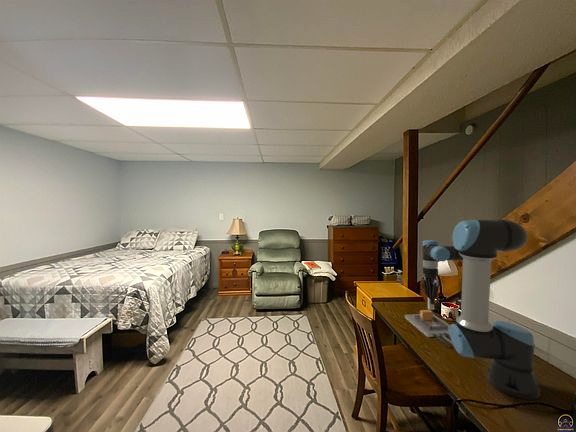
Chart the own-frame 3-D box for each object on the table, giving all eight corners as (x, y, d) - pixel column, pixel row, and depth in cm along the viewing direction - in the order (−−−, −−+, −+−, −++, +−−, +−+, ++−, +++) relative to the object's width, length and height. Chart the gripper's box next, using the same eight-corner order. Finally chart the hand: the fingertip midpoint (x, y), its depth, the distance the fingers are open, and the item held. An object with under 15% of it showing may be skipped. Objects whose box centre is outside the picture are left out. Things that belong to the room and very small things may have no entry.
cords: (464, 347, 122) (464, 345, 122) (448, 348, 122) (448, 346, 122) (448, 336, 133) (448, 334, 133) (434, 336, 133) (434, 334, 133)
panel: (460, 335, 134) (460, 329, 133) (427, 337, 133) (427, 330, 133) (432, 316, 158) (432, 311, 157) (404, 317, 157) (404, 312, 157)
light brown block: (432, 320, 148) (432, 311, 148) (422, 320, 148) (422, 312, 147) (429, 318, 151) (429, 309, 151) (419, 318, 151) (419, 310, 150)
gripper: (444, 269, 134) (445, 313, 134) (430, 265, 147) (430, 305, 147) (430, 270, 134) (431, 313, 134) (417, 265, 147) (418, 305, 147)
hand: (431, 309), depth 140 cm, fingers closed
